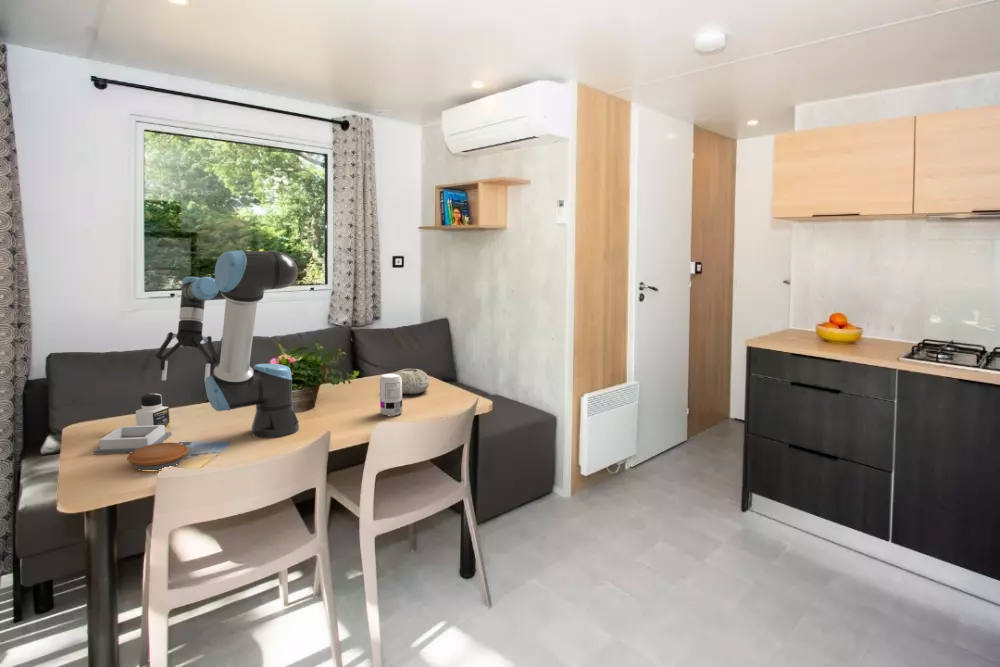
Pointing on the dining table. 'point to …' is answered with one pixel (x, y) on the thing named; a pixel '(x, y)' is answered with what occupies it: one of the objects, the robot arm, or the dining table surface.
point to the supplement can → (391, 394)
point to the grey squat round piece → (413, 381)
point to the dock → (132, 438)
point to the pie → (158, 456)
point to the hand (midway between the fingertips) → (185, 381)
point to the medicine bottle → (152, 411)
